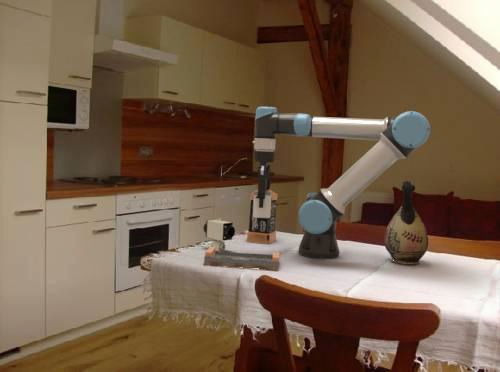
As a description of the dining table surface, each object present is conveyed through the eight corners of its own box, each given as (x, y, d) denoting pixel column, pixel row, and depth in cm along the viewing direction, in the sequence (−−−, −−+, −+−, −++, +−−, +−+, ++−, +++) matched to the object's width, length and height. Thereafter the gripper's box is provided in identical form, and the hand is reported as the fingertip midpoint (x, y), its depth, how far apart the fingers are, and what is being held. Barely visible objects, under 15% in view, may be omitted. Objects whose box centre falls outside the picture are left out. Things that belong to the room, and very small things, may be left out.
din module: (270, 216, 189) (271, 191, 188) (269, 218, 184) (270, 192, 183) (253, 215, 189) (255, 190, 189) (252, 217, 184) (253, 191, 184)
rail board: (279, 262, 178) (279, 251, 178) (277, 271, 166) (278, 258, 166) (210, 257, 180) (210, 246, 180) (203, 265, 168) (204, 253, 168)
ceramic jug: (384, 255, 200) (390, 178, 198) (426, 261, 195) (433, 181, 193) (380, 264, 184) (386, 180, 182) (426, 270, 179) (433, 183, 177)
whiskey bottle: (268, 244, 210) (273, 165, 208) (245, 241, 214) (250, 163, 211) (276, 240, 220) (281, 165, 217) (254, 238, 223) (258, 163, 221)
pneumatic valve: (226, 254, 187) (227, 221, 186) (202, 248, 194) (203, 217, 193) (235, 252, 192) (237, 219, 191) (211, 247, 199) (213, 215, 198)
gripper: (256, 150, 194) (253, 212, 196) (251, 150, 176) (248, 218, 178) (276, 151, 193) (273, 213, 195) (273, 151, 175) (270, 219, 177)
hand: (261, 215), depth 186 cm, fingers closed on din module, 5 cm apart
